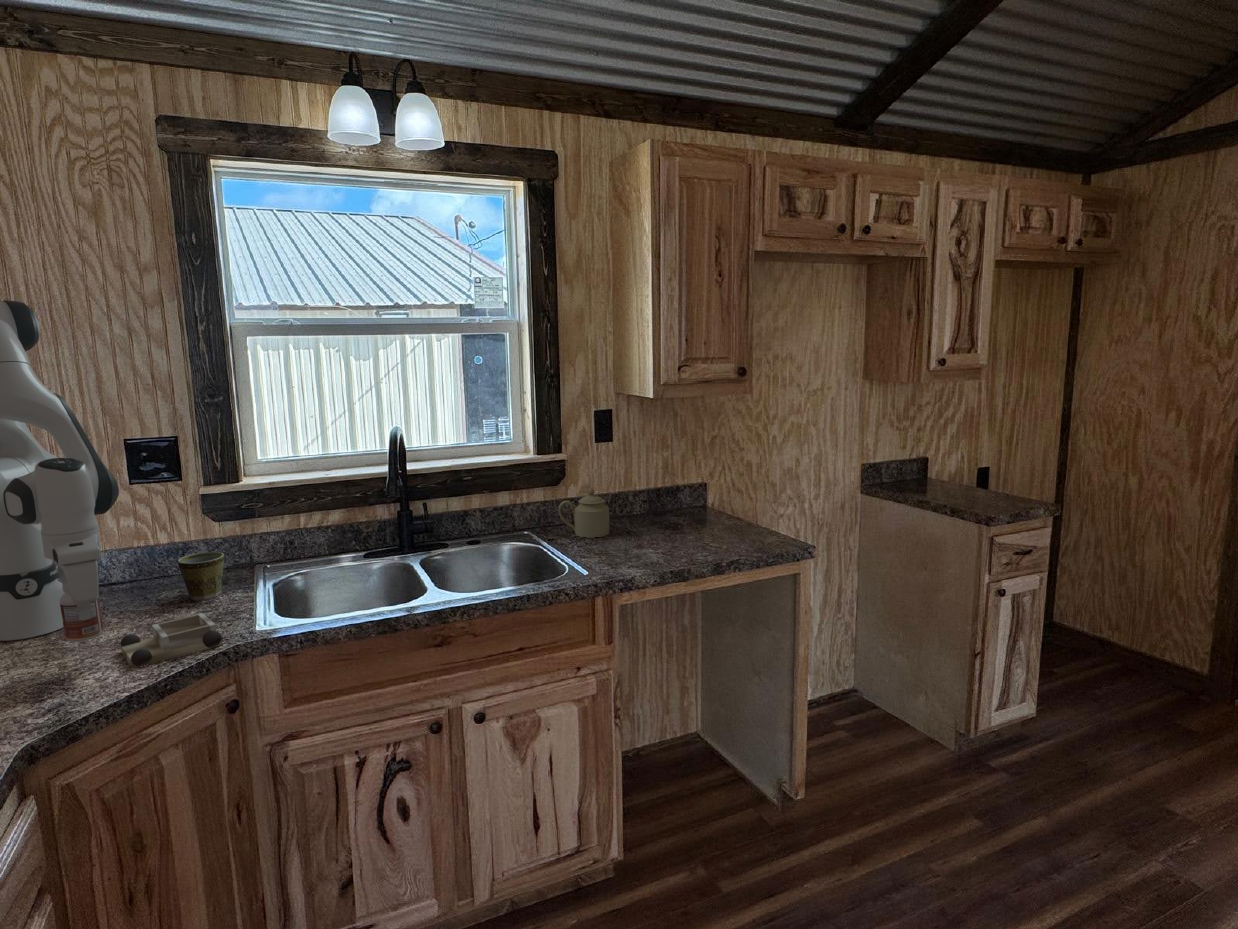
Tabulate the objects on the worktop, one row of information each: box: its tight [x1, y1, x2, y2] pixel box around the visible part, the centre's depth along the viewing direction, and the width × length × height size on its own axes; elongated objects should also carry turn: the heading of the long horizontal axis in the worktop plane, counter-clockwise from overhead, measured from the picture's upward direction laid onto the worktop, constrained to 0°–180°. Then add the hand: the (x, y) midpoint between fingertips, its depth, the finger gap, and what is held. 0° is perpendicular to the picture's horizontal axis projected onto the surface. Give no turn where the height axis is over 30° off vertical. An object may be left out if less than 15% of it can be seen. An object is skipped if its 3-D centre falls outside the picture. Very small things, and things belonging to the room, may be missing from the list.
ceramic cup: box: [177, 551, 225, 601], centre depth 187 cm, size 13×10×10 cm
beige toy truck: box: [120, 612, 223, 669], centre depth 155 cm, size 11×16×4 cm
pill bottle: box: [60, 582, 104, 643], centre depth 145 cm, size 6×6×11 cm
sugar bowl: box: [558, 487, 610, 539], centre depth 236 cm, size 15×11×15 cm
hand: (81, 613), depth 145 cm, fingers closed on pill bottle, 6 cm apart
